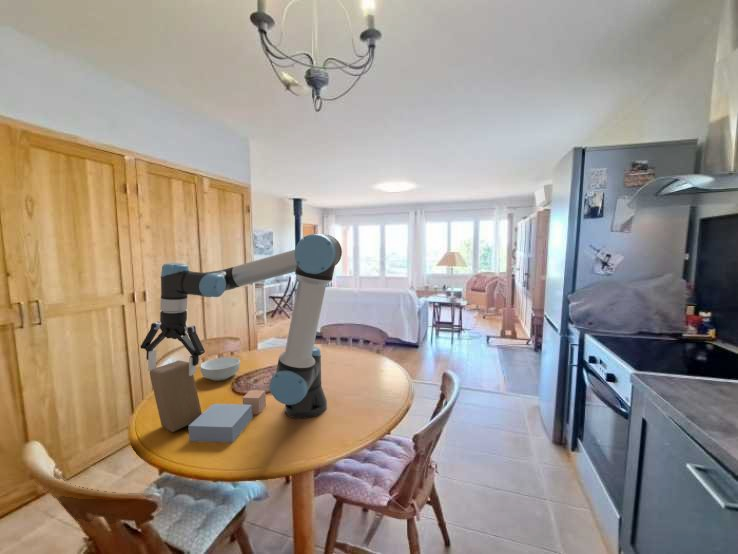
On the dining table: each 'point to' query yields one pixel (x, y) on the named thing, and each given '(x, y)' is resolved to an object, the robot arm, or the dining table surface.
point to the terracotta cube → (255, 400)
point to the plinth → (220, 423)
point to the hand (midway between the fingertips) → (172, 372)
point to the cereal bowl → (220, 368)
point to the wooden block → (175, 395)
